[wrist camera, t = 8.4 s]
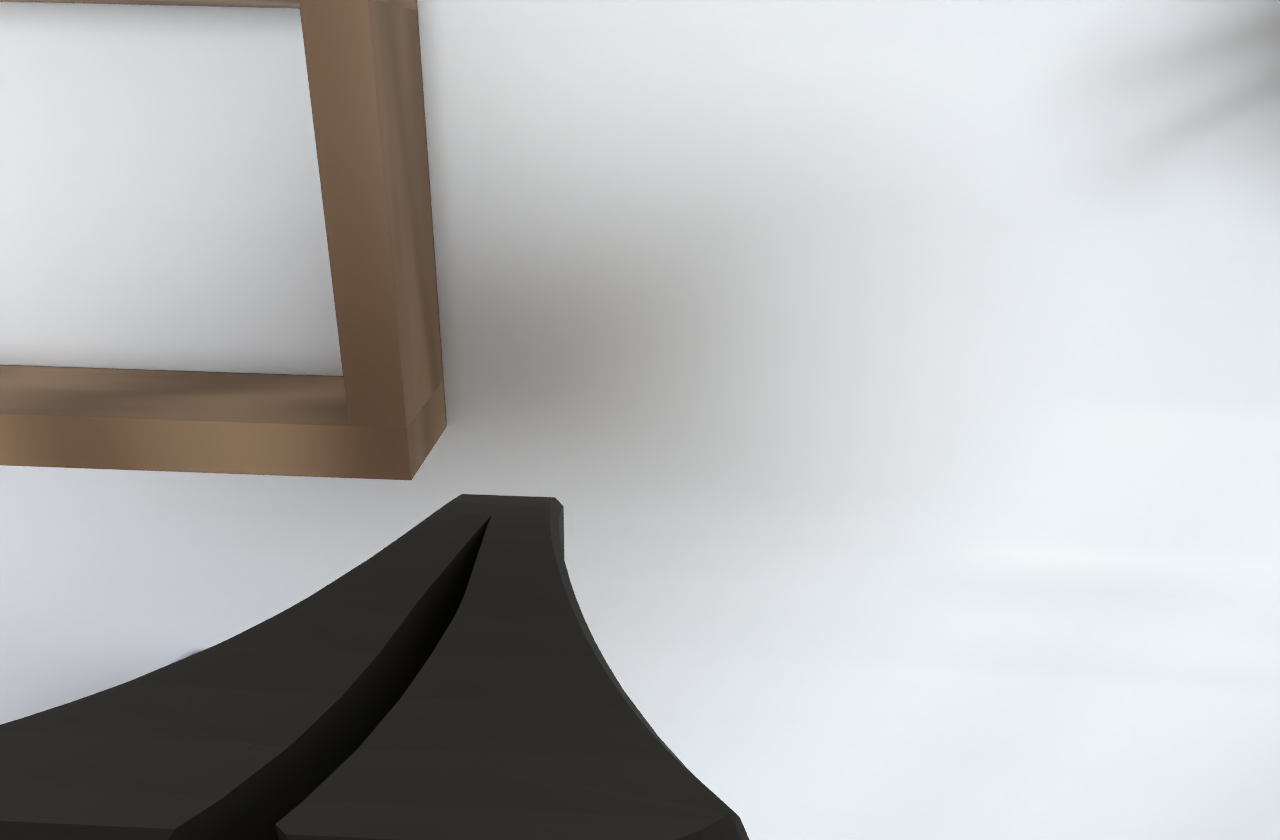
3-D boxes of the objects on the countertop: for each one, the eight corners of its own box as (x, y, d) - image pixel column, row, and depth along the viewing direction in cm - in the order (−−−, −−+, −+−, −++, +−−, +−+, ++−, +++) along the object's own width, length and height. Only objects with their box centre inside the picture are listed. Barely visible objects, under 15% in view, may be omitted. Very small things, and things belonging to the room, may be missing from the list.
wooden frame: (412, -57, 17) (360, -83, 14) (446, 426, 21) (411, 480, 18) (-252, -71, 17) (-434, -99, 14) (-94, 407, 21) (-211, 457, 18)
